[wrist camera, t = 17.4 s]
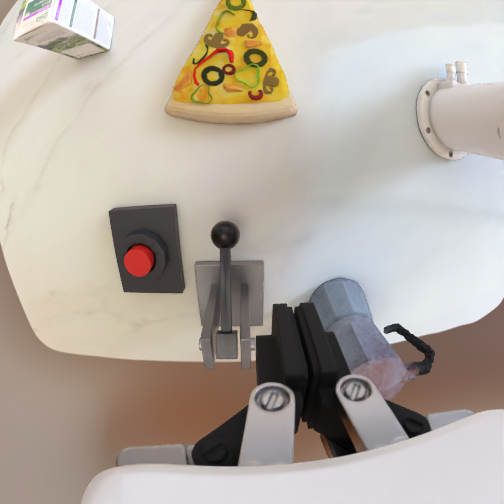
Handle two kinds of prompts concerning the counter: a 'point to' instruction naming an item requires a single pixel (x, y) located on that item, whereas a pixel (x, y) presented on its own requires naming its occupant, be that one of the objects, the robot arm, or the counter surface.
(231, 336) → the lever
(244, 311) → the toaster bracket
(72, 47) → the syrup box
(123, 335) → the counter surface
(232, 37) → the pizza slice
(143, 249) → the button
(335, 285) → the moka pot
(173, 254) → the control block
